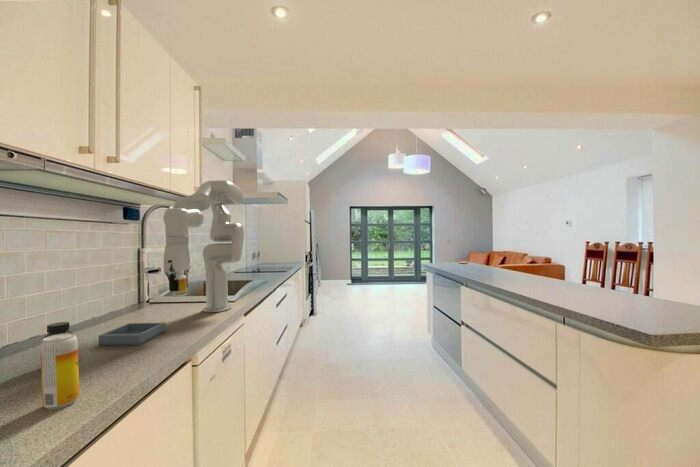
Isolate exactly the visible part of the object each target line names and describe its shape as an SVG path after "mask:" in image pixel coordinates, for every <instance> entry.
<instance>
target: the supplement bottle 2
mask: <svg viewBox="0 0 700 467" xmlns="http://www.w3.org/2000/svg"><path fill="white" fill-rule="evenodd" d="M173 271H174V270H172V272H173ZM173 275H175V274H173ZM177 280H178V283H179V290H178V291H170V297H173V298H174V297H175V298H179V297H184V296H187V295H188V287H187V278H186V275H184V270H182V271H180V272H178V277H177Z"/></svg>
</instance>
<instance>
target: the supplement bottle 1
mask: <svg viewBox="0 0 700 467" xmlns="http://www.w3.org/2000/svg"><path fill="white" fill-rule="evenodd" d="M70 327H71V326H70V322H69V321H60V322H53V323H50V324H48V325H46V333H47V334H45V335H44V336H43V338H42V340H41V342H42V341H43V339H44V338H46V337H49V336H52V335H57V334H62V333H74V332H73V331H71V330H70V329H71V328H70Z"/></svg>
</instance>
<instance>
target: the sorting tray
mask: <svg viewBox="0 0 700 467" xmlns="http://www.w3.org/2000/svg"><path fill="white" fill-rule="evenodd" d="M164 333H166V322H129V323H126V324H124V325H120V326H118V327H116V328H114V329H113V328H112V330H109V331H106V332H103V333H102V334H98V346H99V347H104V346H105V347H118V346H119V347H121V346H122V347H123V346H124V347H127V346H131V347H132V346H135V347H136V346H142V345H143V344H145V343H147V342H149V341H151V340H152V339H155V338H156V337H159V336H160V335H162V334H164Z"/></svg>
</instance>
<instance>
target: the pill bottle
mask: <svg viewBox="0 0 700 467" xmlns="http://www.w3.org/2000/svg"><path fill="white" fill-rule="evenodd" d="M42 339H43V338H42ZM78 345H79V344H78V337H77V336H76V334H75V332H73V333H62V334H57V335H52V336H49V337H46V338H44V339H43V341H42V340H41V343H40V345H39V346H40V368H41V370H40V371H41V392H42V393H41V396H42V407H44V408H45V409H47V410H48V411H53V410H59V409H62V408H66V407H67V406H68V407H69V406H70V405H72V404H74V403H75V402H76V401H77V399H78V398H79V397H80V375H79V373H80V372H79V350H78V348H79V347H78Z"/></svg>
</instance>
